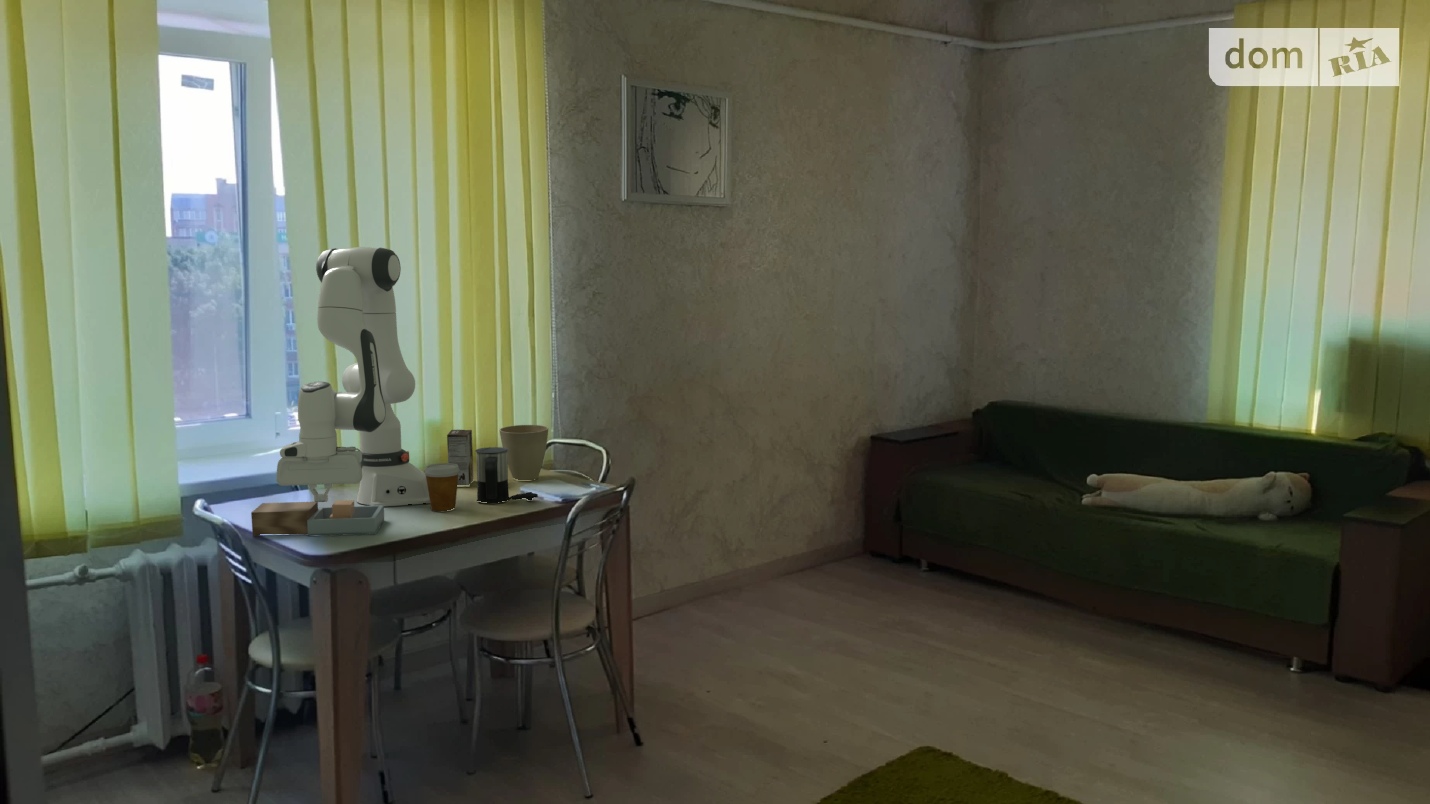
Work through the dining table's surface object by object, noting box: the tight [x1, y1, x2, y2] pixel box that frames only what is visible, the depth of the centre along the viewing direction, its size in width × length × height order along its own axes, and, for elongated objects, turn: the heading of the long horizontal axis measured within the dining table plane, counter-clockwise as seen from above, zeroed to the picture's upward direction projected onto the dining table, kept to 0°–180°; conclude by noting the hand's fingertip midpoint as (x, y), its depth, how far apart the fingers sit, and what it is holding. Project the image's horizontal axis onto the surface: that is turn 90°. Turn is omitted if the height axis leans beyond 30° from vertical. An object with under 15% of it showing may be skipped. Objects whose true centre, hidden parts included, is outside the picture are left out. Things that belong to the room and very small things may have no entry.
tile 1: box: [331, 499, 355, 517], centre depth 268 cm, size 4×5×3 cm
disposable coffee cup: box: [423, 462, 460, 512], centre depth 288 cm, size 10×10×12 cm
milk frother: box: [474, 446, 539, 503], centre depth 297 cm, size 14×16×15 cm
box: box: [307, 505, 385, 536], centre depth 269 cm, size 16×14×4 cm
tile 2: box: [329, 514, 352, 519], centre depth 269 cm, size 4×5×3 cm
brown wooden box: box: [250, 501, 319, 537], centre depth 267 cm, size 14×10×6 cm
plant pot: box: [499, 424, 549, 481], centre depth 327 cm, size 15×15×16 cm
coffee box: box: [446, 429, 475, 485], centre depth 319 cm, size 9×6×16 cm
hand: (321, 501), depth 267 cm, fingers closed
